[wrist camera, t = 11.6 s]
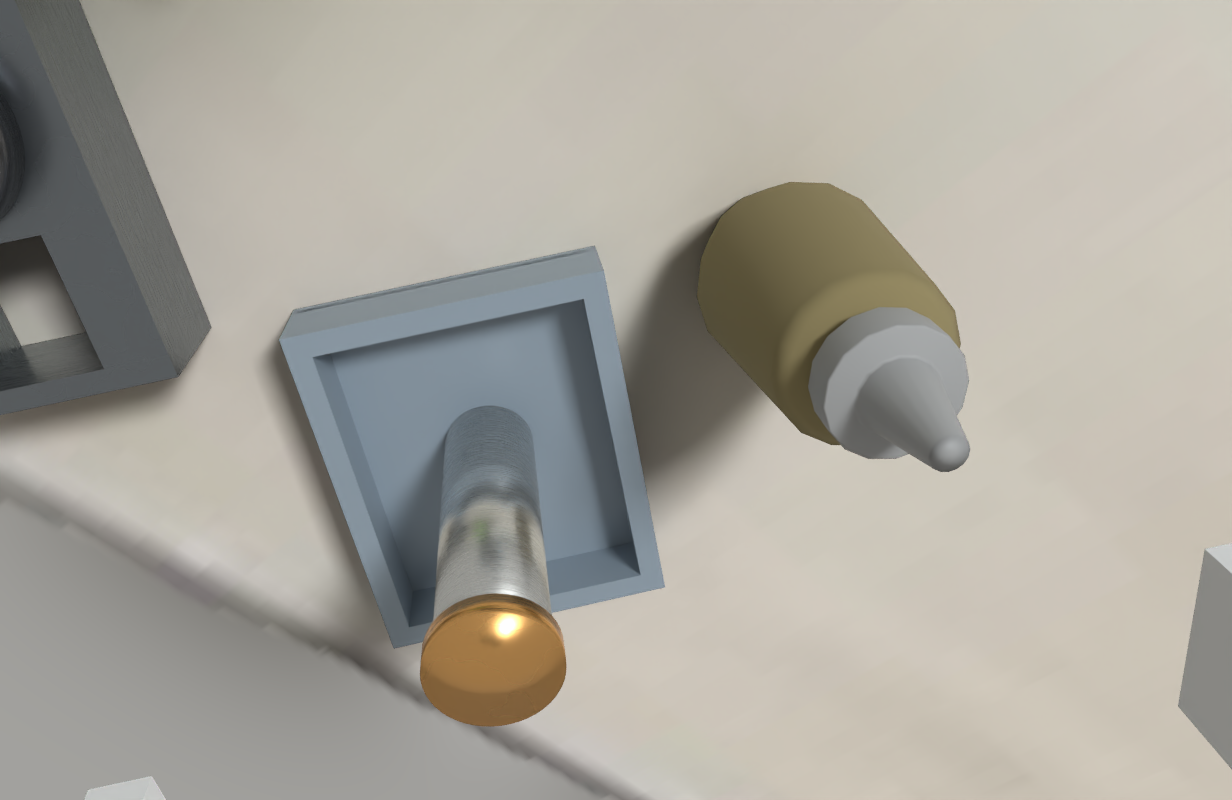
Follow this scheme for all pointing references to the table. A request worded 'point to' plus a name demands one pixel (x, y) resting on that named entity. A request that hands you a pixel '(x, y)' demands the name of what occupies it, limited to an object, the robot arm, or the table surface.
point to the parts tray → (462, 380)
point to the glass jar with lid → (491, 579)
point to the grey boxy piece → (84, 217)
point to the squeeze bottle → (837, 324)
